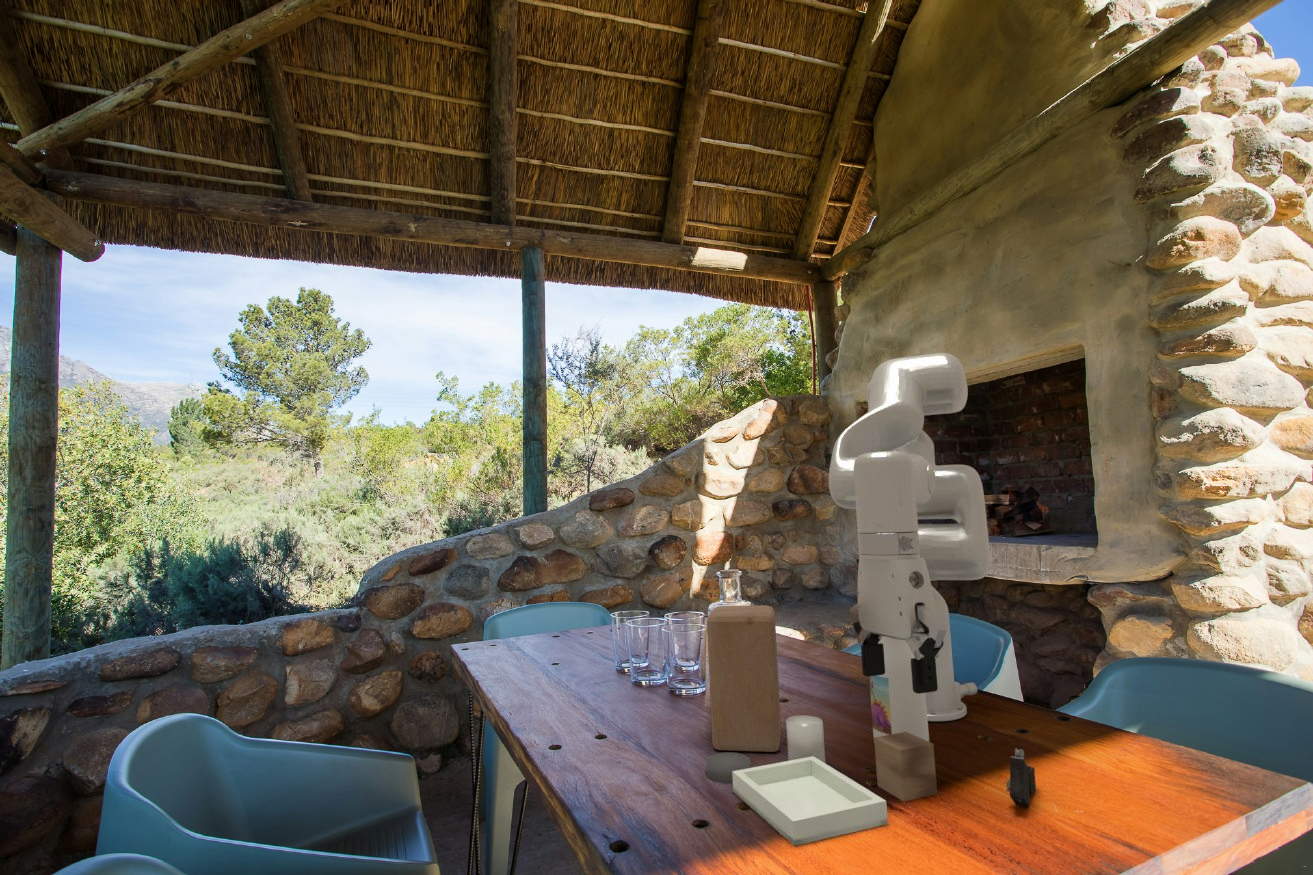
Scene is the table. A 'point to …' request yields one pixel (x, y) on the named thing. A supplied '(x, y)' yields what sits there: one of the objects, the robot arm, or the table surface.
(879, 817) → the tray
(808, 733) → the white rounded cylinder
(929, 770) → the walnut block
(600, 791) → the table surface
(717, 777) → the gray rounded object
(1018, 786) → the lighter
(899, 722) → the milk bottle
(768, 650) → the wooden block
